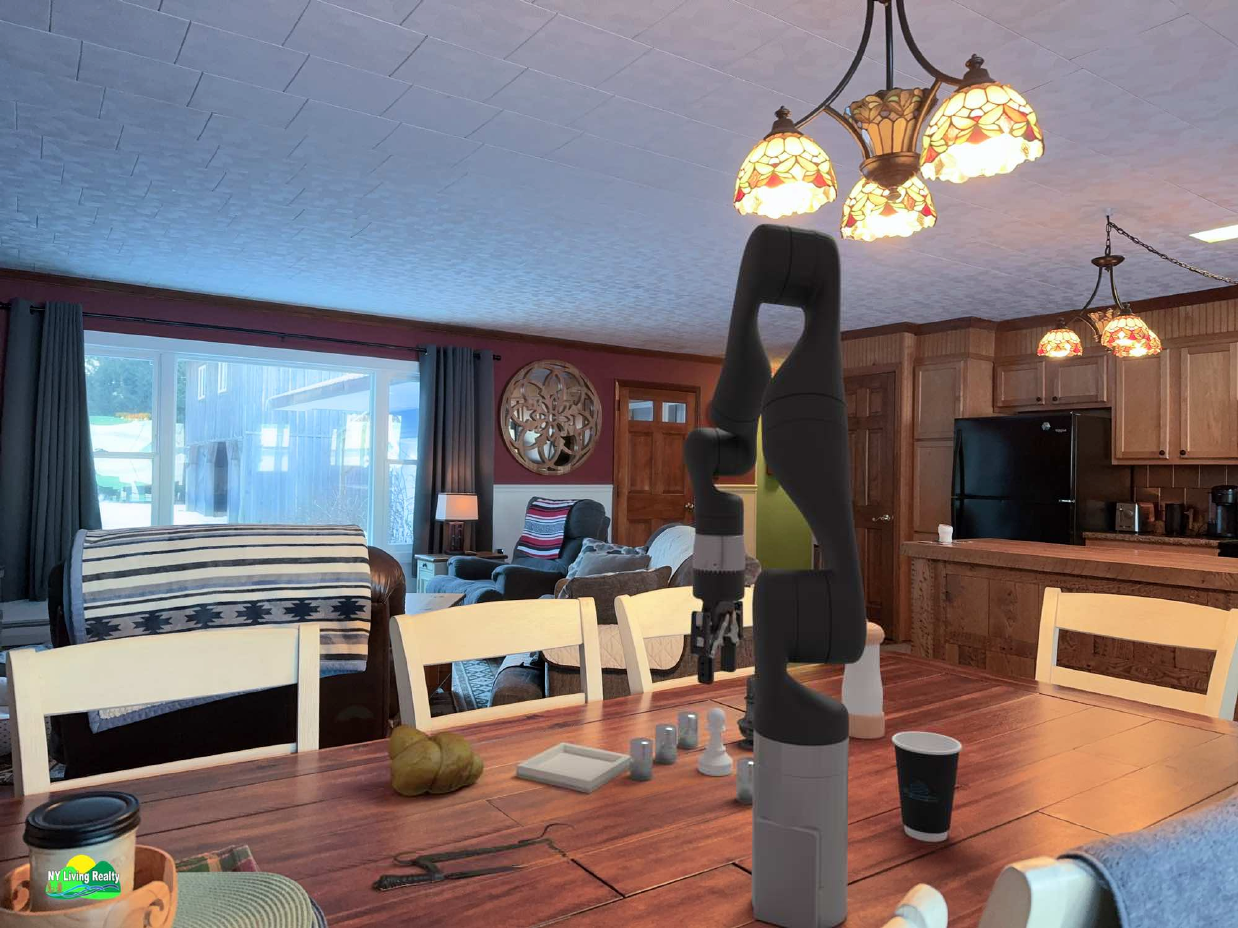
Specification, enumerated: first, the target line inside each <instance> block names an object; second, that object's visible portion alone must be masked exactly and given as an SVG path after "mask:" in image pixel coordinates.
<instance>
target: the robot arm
mask: <svg viewBox="0 0 1238 928" xmlns="http://www.w3.org/2000/svg"><path fill="white" fill-rule="evenodd" d="M762 304H767V305H768V304H769V305H776V306H783V307H791V308H799V309H801V310H802V312H803V315H804V322H803V323H804V325H803V331H802V333H801V335H800V337H799V339H798V340H797V342H796V344H795V346H794V347H793V349H792V350H791V351H790V353H789V355H788V356H786V358H785V360H784V361H783V362H782V363H781V365H779V367H778V369H777V370H776V371H775V372H774V374H772V373H773V371H772V365H771V361H770V359H769V355H768V353H767V350H766V346H765V345H764V341H763V338H762V335H761V332H760V328H759V312H760V309H761V305H762ZM841 305H842V259H841V252H840V247H839V244H838V241H837V239H836V238H835V236H834V235H832V234H831V233H828V232H826V231H825V230H824V231H823V230H819V229H811V228H807V227H800V226H794V225H793V226H792V225H784V224H776V223H762V224H761V223H760V224H759V225H757V226H756V227H755V228H754V229H753V230H752V231H751V234H750V235H749V237H748V239H747V242H746V244H745V248H744V250H743V254H742V257H741V261H740V265H739V271H738V276H737V283H736V288H735V293H734V299H733V303H732V309H731V316H730V321H729V328H728V335H727V341H726V349H725V354H724V358H723V363H722V367H721V371H720V374H719V377H718V380H717V382H716V383H717V384H716V386H715V388H714V389H715V390H714V392H713V395H712V399H711V402H710V405H709V409H708V410H709V411H708V413H709V418H710V421H711V423H713V425H714V426H715V427H698V428H694V429H692V430H691V431H690V432H689V433H688V435H687V436H686V438H685V441H684V445H683V459H684V462H685V466H686V467H685V468H686V471H687V473H688V478H689V480H690V481H689V482H690V485H691V489H692V494H693V500H694V501H693V502H694V509H695V511H694V514H695V515H694V520H695V521H694V523H695V525H694V533H695V534H694V542H693V548H692V596H693V597H694V598H695V599H697V600H700V601H701V602H702V607H701V611H699V610H692V612H691V614H690V615H691V616H690V640H689V641H690V642H689V645H690V646H689V653H690V654H691V655H695V656H696V657H697V682H698V684H701V685H707V686H710V685H712V684H713V683H714V682H715V654H716V650H717V647H718V645H721V646H720V670H721V671H722V672H724V673H735V672H736V671H737V647H738V646H739V645H740V641H742V640H743V639H744V602H743V599H744V598H745V594H746V592H745V587H746V585H745V584H746V583H745V582H746V581H745V580H746V546H745V539H744V533H745V532H744V531H745V530H744V527H745V526H744V525H745V524H744V519H745V518H744V517H745V503H744V499H743V498H742V497H741V496H740V495H739V494H738V495H737V494H734V493H731V492H726V491H721V490H719V489H718V488H717V486H715V483H714V482H713V479H712V478H713V477H743V476H745V475H747V474H748V473H750V472H751V471H752V470H753V469H754V468H755V465H756V463H757V460H758V433H759V431H758V430H759V424H761V425H760V426H761V428H760V429H761V430H760V431H761V451H762V455H763V459H764V461H765V463H766V465H767V467H768V469H769V471H770V472H771V475H773V477H774V478H775V480H776V481H777V483H778V485H779V486H780V488H781V489H782V490H783V491H784V493H785V494H786V495H787V496H788V497H789V498H790V500H791V501H792V502H793V504H794V505H795V507H796V508H797V510H798V511H799V512H800V513H801V515H802V516H803V518H804V519H805V521H806V522H807V524H808V527H809V528H810V530H811V532H812V534H813V536H814V538H815V541H816V544H817V546H818V549H819V551H820V552H819V553H820V556H821V558H822V562H823V565H824V566H823V567H824V569H818V568H817V569H815V568H814V569H813V568H812V569H811V568H810V569H809V568H766V569H764V570H762V571H760V572H759V574H758V575H757V577H756V578H755V580H754V585H753V589H752V599H751V600H752V601H751V605H752V606H751V607H752V609H751V613H752V614H751V615H752V617H751V619H752V635H753V637H752V639H753V659H754V660H753V661H754V663H753V664H754V665H753V666H754V671H755V673H754V674H755V692H754V750H752V751H753V757H752V758H753V804H752V823H751V824H752V825H751V826H752V828H751V834H752V835H751V838H752V839H751V846H752V847H751V904H752V907H753V919H756V920H760V921H762V922H767V923H770V924H774V925H777V926H781V927H784V928H833V927H836V926H838V925H840V924H841V923H842V922H844V921H845V919H846V917H847V916H848V915H847V914H848V849H849V848H848V845H849V844H848V843H849V842H848V839H849V838H848V837H849V830H848V829H849V823H848V822H849V762H850V760H849V757H850V756H849V754H850V753H849V752H850V748H849V747H850V745H849V744H850V736H849V714H848V711H847V708H846V707H845V706H844V704H842V701H840V700H839V699H836V698H835V697H833V696H831V695H827V694H825V693H822V692H819V691H817V690H815V689H812V688H811V687H808V686H806V685H804V684H803V683H801V682H799V681H797V680H796V679H795V678H794V677H792V676H791V675H790V674H789V672H788V669H787V668H788V664H792V663H793V664H811V665H812V664H815V665H817V664H818V665H823V664H824V665H845V664H853V663H855V662H857V661H858V660H859V659H860V658H861V656H862V655H863V652H864V649H865V645H866V635H867V620H868V618H867V609H866V608H867V607H866V606H867V605H866V599H865V592H864V590H865V589H864V584H863V577H862V570H861V564H860V558H859V557H860V556H859V549H858V543H857V536H856V528H855V521H854V512H853V503H852V501H853V499H852V486H851V464H850V463H851V462H850V441H849V440H850V437H849V423H848V409H847V400H846V393H845V384H844V382H845V381H844V374H843V361H842V359H843V358H842V348H841V347H842V346H841V345H842V343H841V342H842V341H841V314H842V313H841V311H842V310H841Z"/></svg>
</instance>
